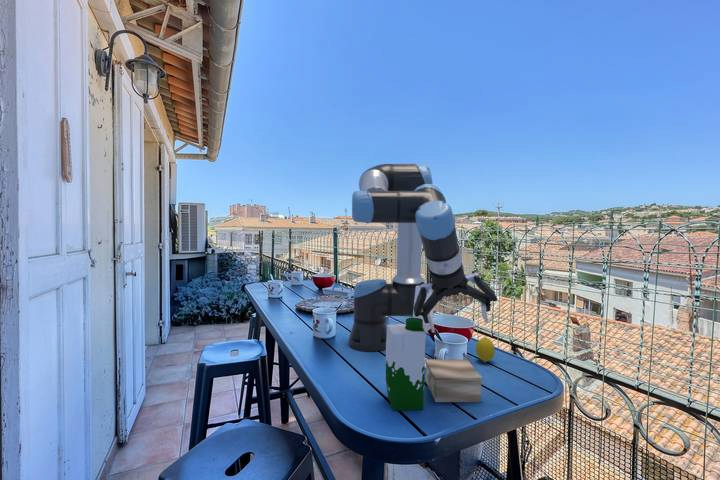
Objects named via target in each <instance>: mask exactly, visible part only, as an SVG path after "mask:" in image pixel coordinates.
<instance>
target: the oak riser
mask: <svg viewBox="0 0 720 480" xmlns="http://www.w3.org/2000/svg"><path fill="white" fill-rule="evenodd" d="M425 363H426V368H425V382H426V385H427V386H428V389H429V390H430V393H431V396H432V398H433V400H434V402H435V403H481V401H482V382H483V381H484V378H483V376H482V375H481V374H480V373H479V372H478V371H477V370H476V369H475V367H474V365H472V363H470V361H469V360H468V359H466V358H465V359H464V358H463V359H446V358H444V359H442V358H441V359H440V358H439V359H437V358H436V359H435V358H433V359H432V358H430V359H429V358H426V359H425Z"/></svg>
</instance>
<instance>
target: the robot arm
mask: <svg viewBox="0 0 720 480" xmlns="http://www.w3.org/2000/svg"><path fill="white" fill-rule="evenodd" d="M358 188H359V190H354V191H353V193H352V196H351V215H352V217H351V218H352V220H353V222H355V223H365V224H397V237H396V239H397V240H396V242H397V243H396V246H397V247H396V274H395V275H394V276H393V277H392V279H391V280H392V281H391V282H392V283H387V280H386V279H382V278H380V279H378V278H376V279H367V280H363V281H359V282H357V283H355V285H354V288H353V296H352V297H353V325H352V327H351V330H350V334H349V337H348V345H349V347H350V348H351V349H354V350H357V351H362V352H379V351H384V350H386V337H387V320H386V319H387V317H407V318H413V309H414V314H415V316H416V317H418V316H419V315H421V316H423V319H424V322H425V323H426V324H427V323H429V324H430V327H431V329H430V330H431V333H436V331H435V326H434V325H435V324H433V321H432V318H431V314H430V311H431V310H432V309H433V310H434V307H435V306H436V305H437V304H438V303H439V302H441V301H442V300H443V299H444V297H446V298H448V297H451V296H458V295H459V294H462V295H464V296H468V297H471V298H472V299H474V300H476V301H478V302H480V303H479V304H480V311H481V316H482V318H483V321H484V324H487V323H489V318H488V312H491V306H492V304H491V302H497V301H498V297H497V294H496V293H495V291H494V290H493V289H492V288H491V287H490V286H489V285H488V284H487V283H486V282H485V281H484V280H483V279H482V278H481V277H480V276H479V273H478V271H477V270H472V271H471V274H467V275H466V274H465V268H464V264H463V261H462V260H463V259H462V255H461V250H460V245H459V239H458V235H457V229H456V218H455V216H454V212H453V209H452V207H451V206H450V204H449V203H447V201H446V197H445V195H444V194H443V192H442V190H441V189H440V188H439V187H438V186H437V185H435V184H433V177H432V172H431V170H430V168H429V166H428V165H426V164H421V163H381V164H377V165H375V166H372V167H370V168H368V169H366V170H365V171H364V172H363V173H362V174H361V175H360V177H359V180H358ZM422 247H423V251H424V255H425V260H426V263H427V264H426V265H427V267H428V270H429V274H430V275H429V276H430V278H431V282H430V283H426V281H425V280H426V279H425V278H423V276H422V274H421V272H422ZM469 282H471V283H472V284H473V285H476V287H477V288H478V289H477V288H475V287H473V286H471V285H470V284H468V283H469ZM416 286H420V292H419V294H418V297H417V300H416V303H415V306H414V299H415V290H416ZM430 290H432V294H431V296H430V297H429V298H428V299H427V301H426V302H425V300H426V297H427V294H428V293H429V291H430ZM424 302H425V303H424Z"/></svg>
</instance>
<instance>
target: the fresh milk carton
mask: <svg viewBox="0 0 720 480" xmlns="http://www.w3.org/2000/svg"><path fill="white" fill-rule="evenodd" d="M386 326H387V337H386V349H385V385H386V394H387V398H388V400H389V403H390V406H391V409H392V411H394V412H395V411H397V412H398V411H400V412H401V411H421V410H424V402H425V401H424V400H425V397H424V396H425V382H426V368H425V358H426V341H427V340H426V339H427V332H425V331H424V329H423V320H422V319H420V318H413V317H407V318H406V319H405V323H397V324H386Z"/></svg>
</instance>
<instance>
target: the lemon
mask: <svg viewBox="0 0 720 480" xmlns="http://www.w3.org/2000/svg"><path fill="white" fill-rule="evenodd" d="M475 353H476V355H477V357H478V359H480V360H481V361H482V362H483V363H487V362H490V361H492V359H494V357H495V353H496V351H495V346H494V342H493V341H492V340H490V339H489V338H488V337H487V336H484V337H482V338H480V339H479V340H478V341H477V342H476V346H475Z"/></svg>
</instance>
